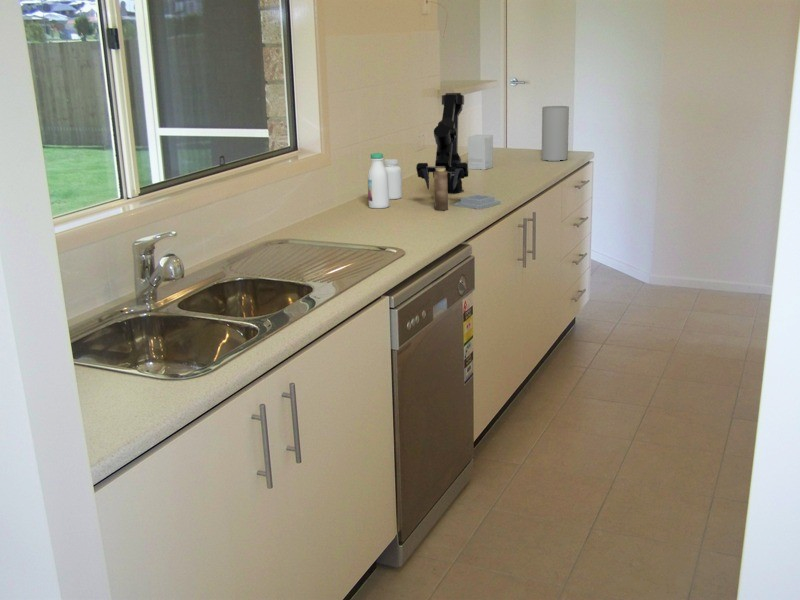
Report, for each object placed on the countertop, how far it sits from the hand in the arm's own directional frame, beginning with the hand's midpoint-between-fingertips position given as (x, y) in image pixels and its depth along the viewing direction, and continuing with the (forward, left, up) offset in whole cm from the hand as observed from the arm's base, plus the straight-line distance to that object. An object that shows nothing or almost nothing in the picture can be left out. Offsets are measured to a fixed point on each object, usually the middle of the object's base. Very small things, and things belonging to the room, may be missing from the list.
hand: (440, 188), depth 315 cm
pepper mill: (-1, +1, -8) cm, 8 cm away
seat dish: (+5, +15, -8) cm, 18 cm away
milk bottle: (-24, -8, -8) cm, 26 cm away
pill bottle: (-32, +8, -8) cm, 33 cm away
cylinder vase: (-29, +122, -8) cm, 126 cm away
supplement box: (-45, +84, -8) cm, 96 cm away
